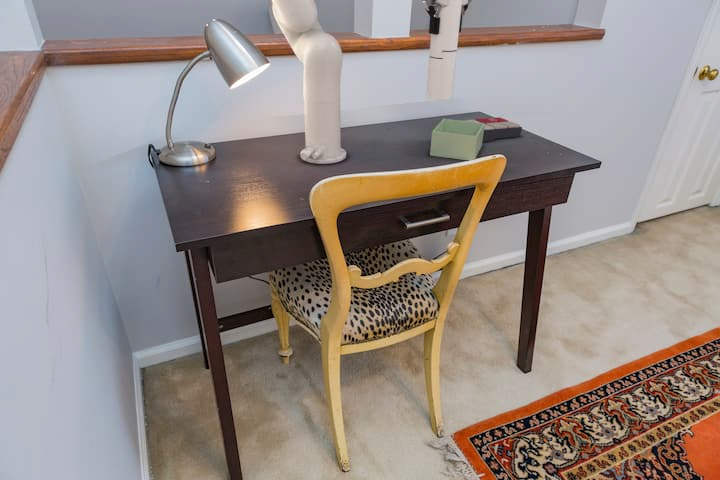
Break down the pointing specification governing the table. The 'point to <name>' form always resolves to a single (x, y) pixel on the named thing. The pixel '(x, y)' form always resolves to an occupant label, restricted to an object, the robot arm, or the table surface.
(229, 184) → the table surface
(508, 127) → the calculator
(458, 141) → the tote
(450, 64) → the cylindrical container
